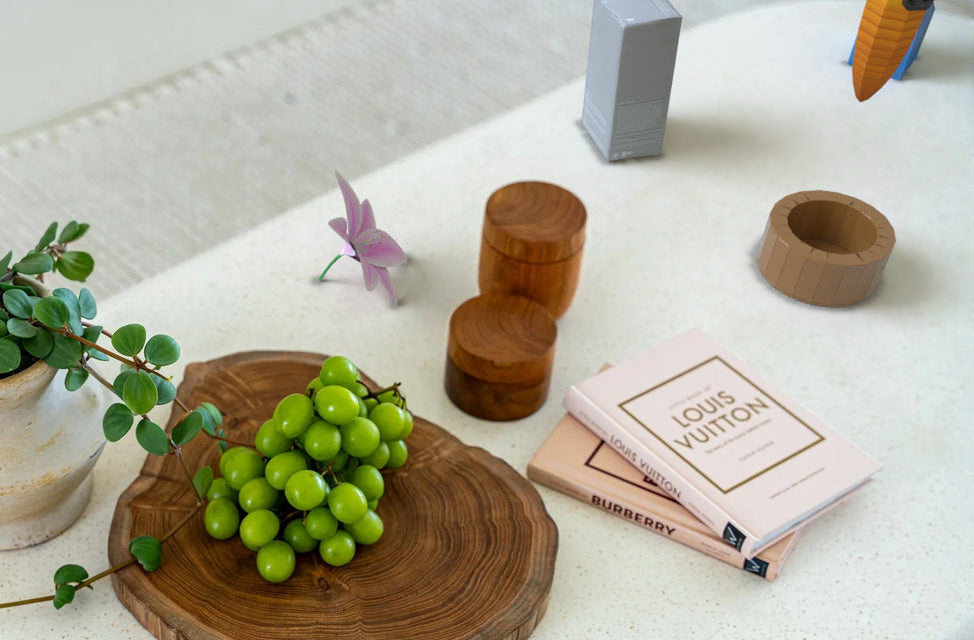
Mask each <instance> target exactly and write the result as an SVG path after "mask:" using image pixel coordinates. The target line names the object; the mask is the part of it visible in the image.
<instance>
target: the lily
mask: <svg viewBox="0 0 974 640" xmlns="http://www.w3.org/2000/svg"><path fill="white" fill-rule="evenodd" d="M334 174H335V175H334V176H335V178H336V179H337V180H336V181H337V183H338V186H339V188H340V191H341V194H342V195H341V196H342V198H343V201H344V202H343V203H344V206H345V212H346V218H345V217H343V216H340V217H335V218H333V219H330V220H329V221H328V223H327V225H328V226H329V227H330V228H331V229H332V230H333V231H334V232H335V233H336V235H338V236H339V237H340V238H341V239H342V240H343V241H344V245H343V249H342V250H341V252H339V254H338V255H336V256H335V257H334V258H333V259H332V260H331V261H330V262H329V263H328V264H327V266H326V267H325V269H323V271H322V273H321V274H320V276H319V277H318V278H317V280H318V281H322V279H324V278H325V277H324V276H325V275H326V274H327V273H328V271H329V270H330V268H332V266H333V265H334V264H335V263H336V262H337V261H338V260H339V259H341V258H342V257H343V256H348V257H350V258H351V259H353V260H354V261H356V262H358V263H360V266H361V271H362V275H363V281H364V286H365V288H366V291H367V292H369V293H371V292H373V291H374V290H375V289H376V288H377V286H378V285H379V283H381V284H382V286H383V287H384V289H385V290H386V292H387V293H388V294H389V295H390V297H391V299H392V300H393V302H394V303H395V304H398V298H397V293H396V290H395V286H394V283H393V280H392V276H391V274H390V272H389V269H391V268H395V267H399V266H401V265H403V264H405V263H407V261H408V257H407V255H406V253H405V251H404V250H403V248H402V247H401V245H400V244H398V242H397V241H396V240H395V239H394V237H392V236H391V234H389V233H388V232H386V231H384V230H383V229H381V228H377V222H376V217H375V214H374V211H373V207H372V204H371V202H370V201H369V198H364V200H362V202H360V198H359V197H358V195H357V193H356V192H355V191H354V189H353V187H352V186H351V184H350V183H349V182H348V181H347V180H346V179H345V178H344V176H343V175H342V174H341V173H340V172H339V171H338V170H336V169H334ZM388 268H389V269H388Z"/></svg>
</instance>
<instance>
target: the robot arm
mask: <svg viewBox="0 0 974 640" xmlns="http://www.w3.org/2000/svg"><path fill="white" fill-rule="evenodd" d="M933 2H935V0H902V5H903V6H904V8H905V9H906V10H907V11H918V10H927V9H929V8H930V7H931V5H932V3H933Z"/></svg>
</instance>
